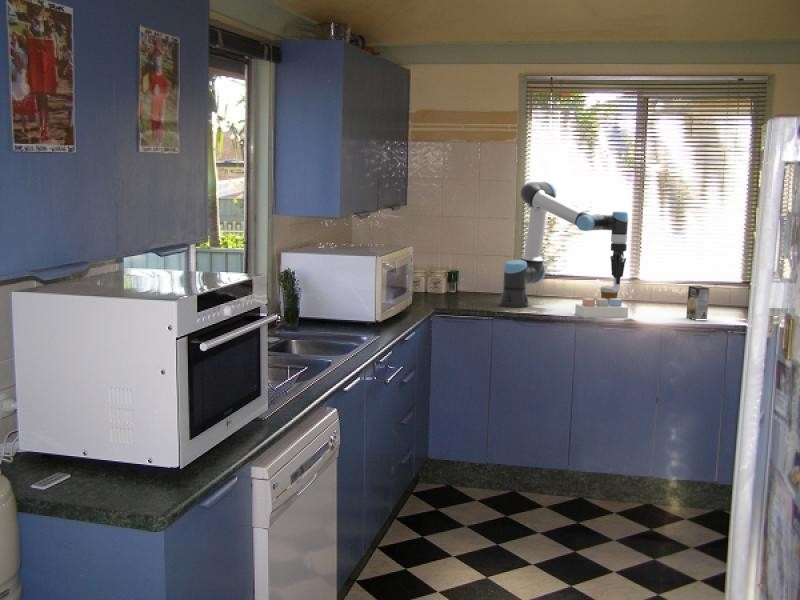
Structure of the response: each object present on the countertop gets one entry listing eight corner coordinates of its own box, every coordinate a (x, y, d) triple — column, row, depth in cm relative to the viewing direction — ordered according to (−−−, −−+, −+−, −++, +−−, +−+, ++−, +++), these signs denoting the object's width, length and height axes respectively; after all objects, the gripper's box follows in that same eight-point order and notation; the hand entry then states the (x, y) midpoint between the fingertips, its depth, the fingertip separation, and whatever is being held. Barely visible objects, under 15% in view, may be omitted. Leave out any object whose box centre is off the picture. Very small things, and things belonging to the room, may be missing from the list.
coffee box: (685, 317, 454) (687, 285, 452) (696, 317, 456) (699, 285, 453) (696, 320, 445) (698, 288, 443) (707, 320, 447) (710, 288, 445)
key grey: (595, 310, 454) (595, 298, 453) (603, 310, 455) (604, 298, 454) (599, 311, 450) (599, 299, 449) (607, 311, 451) (608, 299, 450)
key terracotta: (582, 310, 453) (582, 298, 452) (590, 310, 454) (591, 298, 453) (585, 311, 448) (586, 299, 448) (594, 311, 449) (595, 299, 449)
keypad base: (575, 313, 456) (575, 304, 455) (617, 313, 461) (618, 303, 460) (583, 317, 445) (584, 307, 444) (627, 317, 450) (628, 307, 449)
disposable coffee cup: (618, 312, 465) (619, 289, 463) (598, 311, 467) (600, 288, 465) (617, 309, 474) (618, 286, 473) (598, 308, 476) (600, 285, 474)
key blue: (608, 310, 456) (609, 298, 455) (616, 310, 457) (617, 298, 456) (612, 311, 451) (613, 299, 450) (620, 311, 452) (621, 299, 451)
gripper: (631, 244, 444) (629, 292, 447) (620, 242, 456) (617, 288, 459) (617, 243, 442) (615, 292, 445) (606, 241, 455) (603, 288, 458)
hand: (616, 290), depth 452 cm, fingers closed
